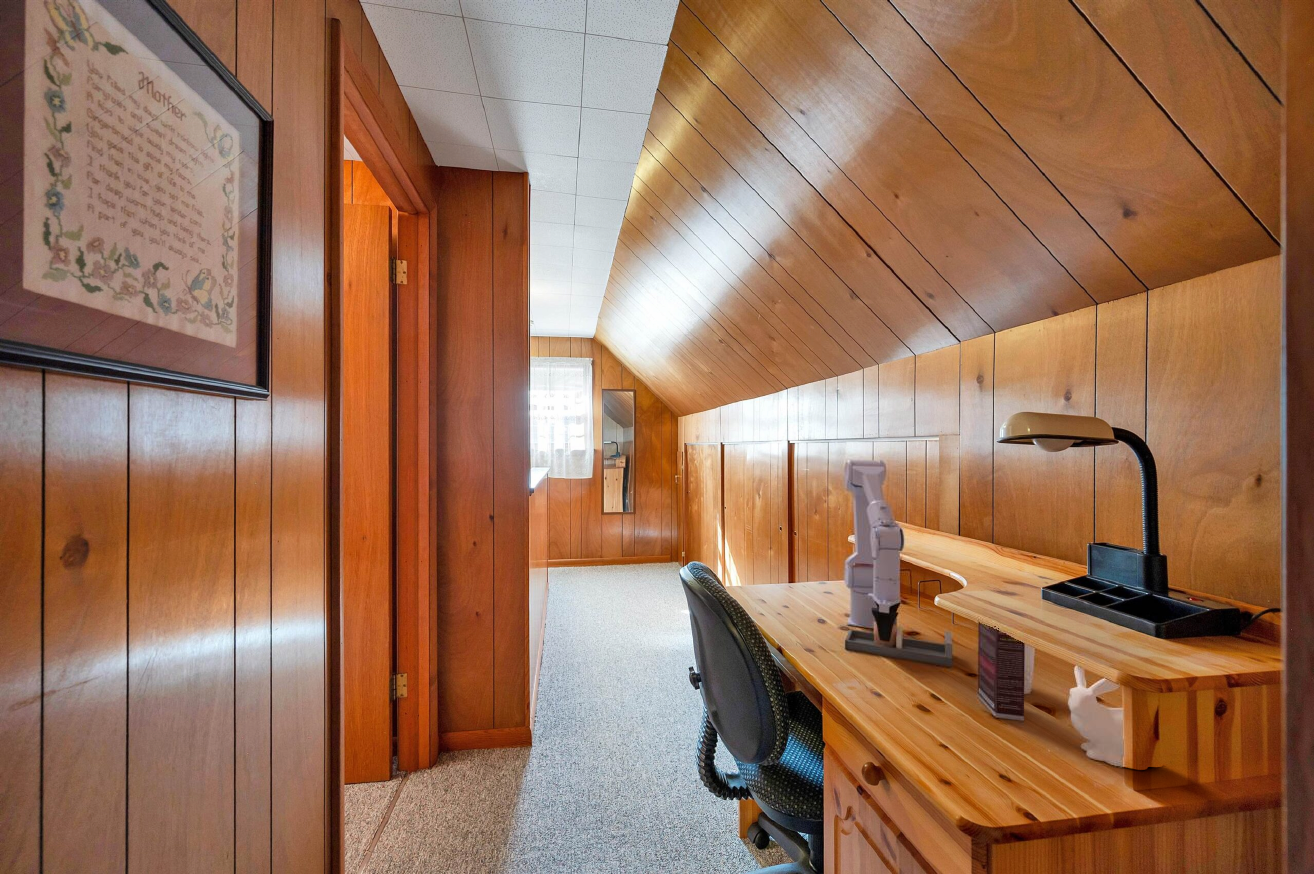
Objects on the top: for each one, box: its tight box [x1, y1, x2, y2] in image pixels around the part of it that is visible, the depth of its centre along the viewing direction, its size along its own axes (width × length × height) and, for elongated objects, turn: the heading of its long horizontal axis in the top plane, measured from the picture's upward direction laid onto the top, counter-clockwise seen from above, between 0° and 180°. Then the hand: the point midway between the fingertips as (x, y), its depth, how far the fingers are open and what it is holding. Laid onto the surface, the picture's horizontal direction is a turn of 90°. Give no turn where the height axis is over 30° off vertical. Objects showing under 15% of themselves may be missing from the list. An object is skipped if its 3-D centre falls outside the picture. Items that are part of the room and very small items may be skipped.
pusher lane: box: [844, 628, 953, 668], centre depth 126 cm, size 9×22×5 cm, turn 63°
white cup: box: [1024, 644, 1036, 695], centre depth 107 cm, size 8×8×10 cm
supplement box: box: [977, 621, 1025, 722], centre depth 98 cm, size 9×5×16 cm, turn 168°
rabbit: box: [1067, 665, 1124, 767], centre depth 83 cm, size 12×9×12 cm
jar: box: [873, 617, 898, 648], centre depth 127 cm, size 5×5×7 cm
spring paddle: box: [896, 626, 904, 649], centre depth 126 cm, size 7×1×4 cm, turn 153°
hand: (885, 635), depth 127 cm, fingers open, 7 cm apart
